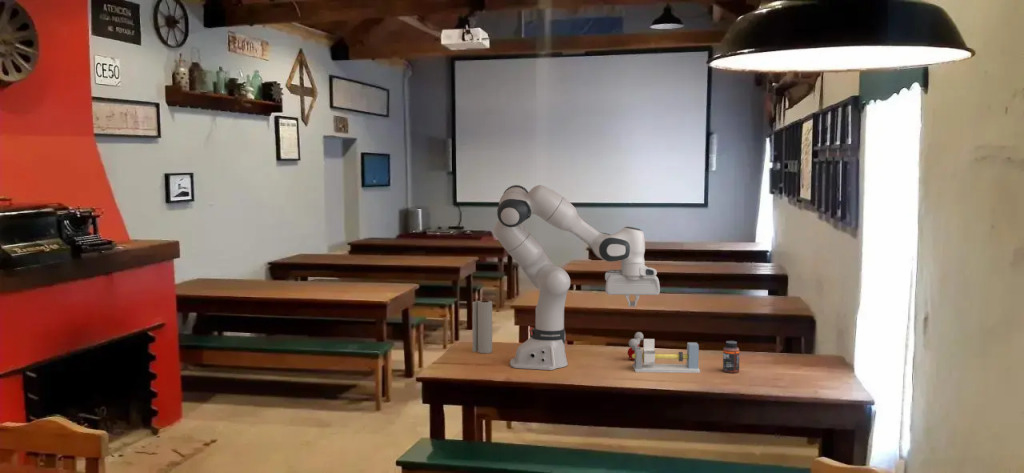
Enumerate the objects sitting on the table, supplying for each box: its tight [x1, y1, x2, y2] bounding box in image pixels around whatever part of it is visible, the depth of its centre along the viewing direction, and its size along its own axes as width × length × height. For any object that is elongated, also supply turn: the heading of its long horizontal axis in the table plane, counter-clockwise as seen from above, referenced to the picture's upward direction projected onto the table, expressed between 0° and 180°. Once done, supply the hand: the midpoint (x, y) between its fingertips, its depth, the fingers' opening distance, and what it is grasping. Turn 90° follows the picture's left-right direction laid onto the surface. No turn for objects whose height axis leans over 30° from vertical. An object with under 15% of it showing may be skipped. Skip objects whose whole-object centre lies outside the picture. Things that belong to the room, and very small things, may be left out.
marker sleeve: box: [642, 338, 656, 365], centre depth 299 cm, size 4×5×9 cm
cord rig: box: [632, 341, 701, 374], centre depth 299 cm, size 25×9×10 cm, turn 88°
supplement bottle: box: [722, 340, 740, 374], centre depth 296 cm, size 6×6×11 cm
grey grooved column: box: [472, 300, 493, 354], centre depth 327 cm, size 7×6×21 cm
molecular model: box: [627, 331, 644, 361], centre depth 314 cm, size 18×6×10 cm, turn 162°
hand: (632, 306), depth 298 cm, fingers closed
